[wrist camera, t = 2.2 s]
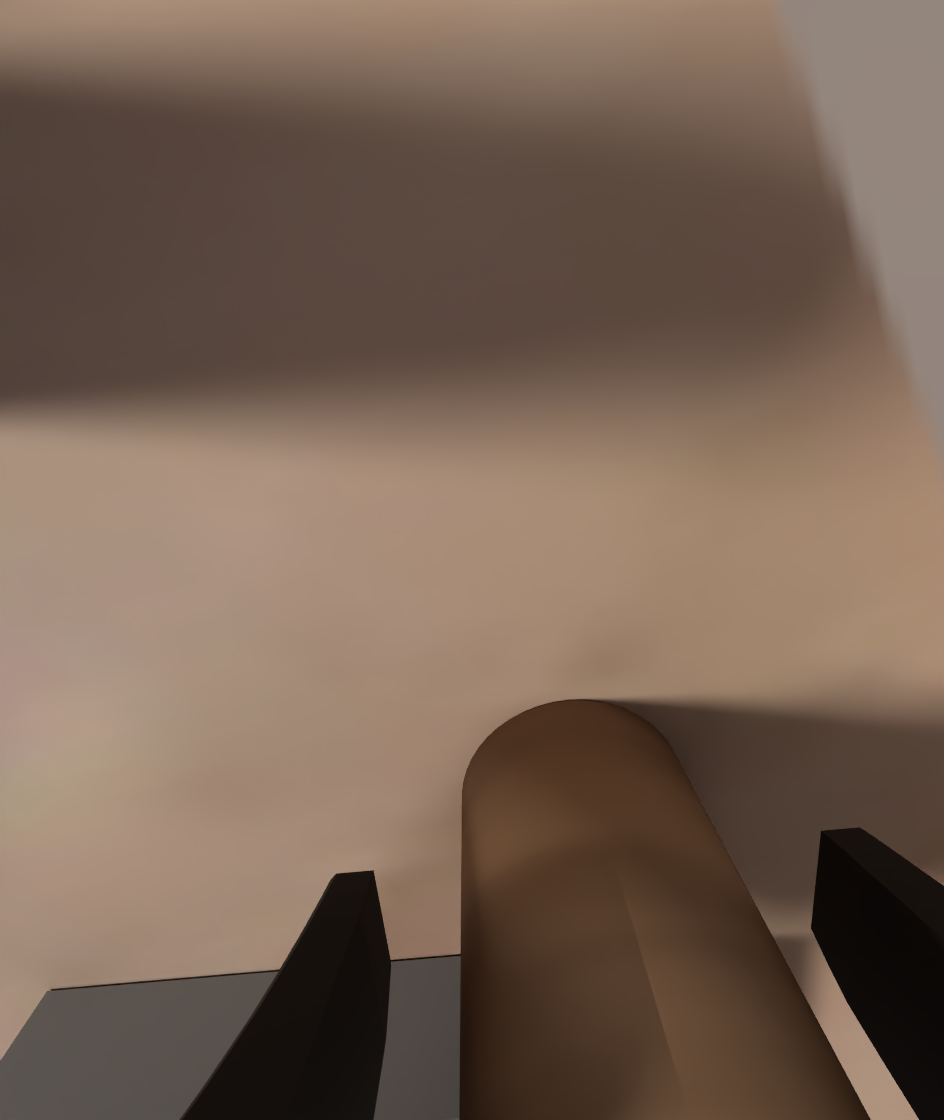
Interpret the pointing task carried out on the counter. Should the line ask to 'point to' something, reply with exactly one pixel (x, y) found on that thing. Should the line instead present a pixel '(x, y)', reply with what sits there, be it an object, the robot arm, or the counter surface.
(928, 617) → the counter surface
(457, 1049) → the socket block
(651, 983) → the peg
